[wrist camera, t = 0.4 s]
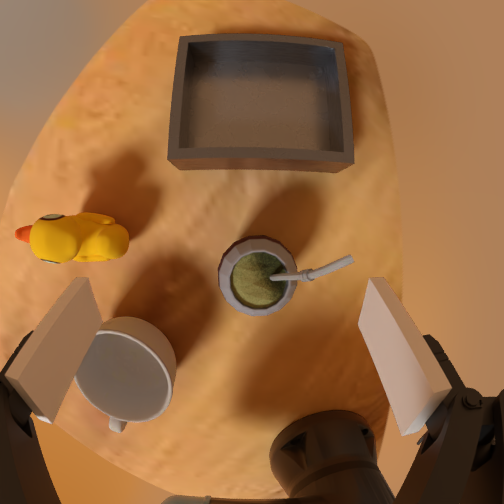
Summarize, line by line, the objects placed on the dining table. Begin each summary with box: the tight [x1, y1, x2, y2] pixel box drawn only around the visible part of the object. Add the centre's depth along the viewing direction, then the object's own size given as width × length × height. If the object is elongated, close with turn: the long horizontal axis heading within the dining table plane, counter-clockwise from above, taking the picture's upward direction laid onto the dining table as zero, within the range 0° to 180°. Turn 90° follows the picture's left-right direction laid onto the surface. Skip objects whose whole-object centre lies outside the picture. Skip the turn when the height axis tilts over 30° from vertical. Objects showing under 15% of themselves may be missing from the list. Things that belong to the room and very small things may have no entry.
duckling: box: [15, 212, 129, 263], centre depth 25 cm, size 11×5×10 cm, turn 82°
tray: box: [167, 34, 354, 173], centre depth 27 cm, size 14×17×6 cm
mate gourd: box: [218, 235, 354, 316], centre depth 24 cm, size 8×8×15 cm
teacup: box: [74, 316, 176, 433], centre depth 28 cm, size 14×11×8 cm
